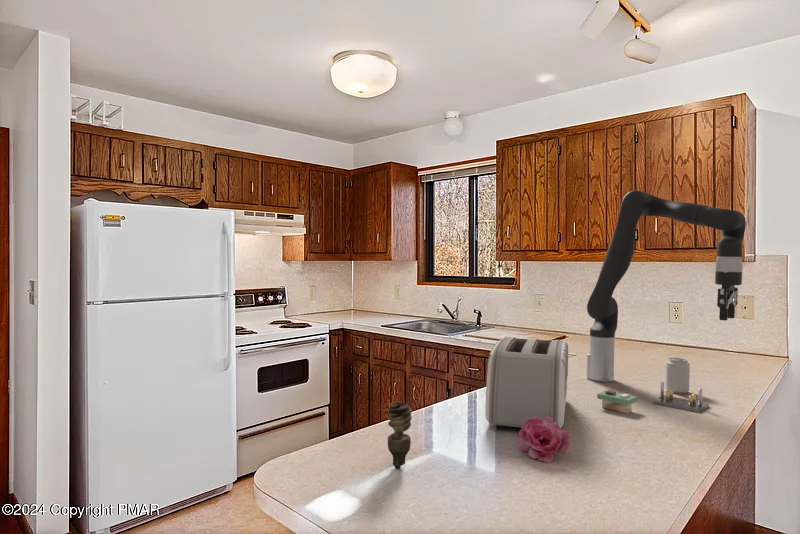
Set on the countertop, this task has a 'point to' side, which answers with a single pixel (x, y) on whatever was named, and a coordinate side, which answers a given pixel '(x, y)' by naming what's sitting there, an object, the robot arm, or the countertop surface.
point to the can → (677, 375)
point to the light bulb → (399, 432)
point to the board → (617, 397)
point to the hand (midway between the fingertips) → (727, 319)
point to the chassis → (681, 401)
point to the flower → (543, 438)
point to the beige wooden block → (616, 406)
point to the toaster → (526, 381)
